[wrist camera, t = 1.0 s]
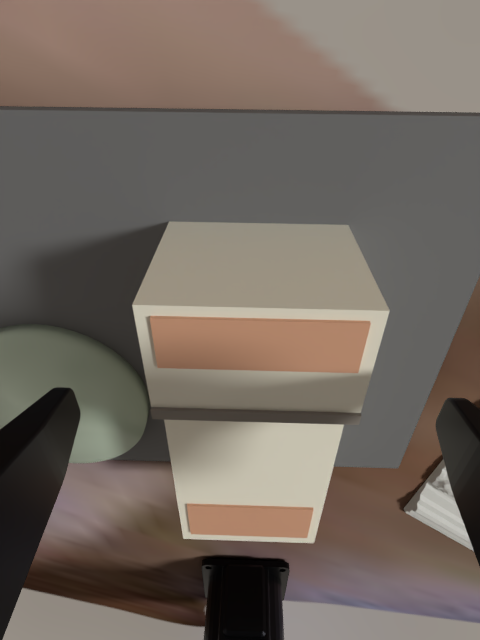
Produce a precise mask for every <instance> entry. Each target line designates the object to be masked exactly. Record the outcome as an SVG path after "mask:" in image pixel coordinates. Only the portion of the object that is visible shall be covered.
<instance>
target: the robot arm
mask: <svg viewBox="0 0 480 640" xmlns="http://www.w3.org/2000/svg"><path fill="white" fill-rule="evenodd" d="M80 416H81V413H80V408H79V405H78V402H77V399H76V396H75V393H74V391H73V390H72V389H71V388H66V387H56V388H53V389H51V390H50V391H49V392H47V393H46V394H45V395H43V396H42V397H41V398H40V399H38V400H37V401H36V402H35V403H33V404H32V405H31V406H29V407H28V408H27V409H26V410H24V411H23V412H22V413H20V414H19V415H18V416H17V417H15V418H14V419H13V420H12V421H10V422H9V423H8V424H6V425H5V426H4V427H3V428H1V429H0V640H2V639H3V636H4V634H5V631H6V628H7V626H8V623H9V621H10V618H11V616H12V613H13V610H14V608H15V605H16V602H17V600H18V597H19V595H20V592H21V589H22V587H23V584H24V582H25V579H26V577H27V574H28V572H29V569H30V566H31V564H32V561H33V559H34V556H35V553H36V551H37V548H38V546H39V543H40V540H41V538H42V535H43V533H44V530H45V527H46V525H47V522H48V520H49V517H50V515H51V512H52V509H53V507H54V504H55V502H56V499H57V496H58V494H59V491H60V489H61V486H62V483H63V480H64V477H65V474H66V471H67V467H68V463H69V459H70V456H71V452H72V448H73V444H74V440H75V437H76V433H77V429H78V425H79V422H80ZM436 431H437V435H438V439H439V443H440V447H441V451H442V455H443V459H444V463H445V467H446V471H447V475H448V479H449V482H450V486H451V490H452V493H453V495H454V498H455V501H456V504H457V507H458V509H459V512H460V515H461V517H462V520H463V523H464V525H465V528H466V531H467V534H468V536H469V539H470V542H471V544H472V547H473V550H474V552H475V555H476V558H477V560H478V563H479V566H480V409H479V408H478V407H477V406H475V405H474V404H473V403H471V402H470V401H469V400H467V399H465V398H448V399H447V400H446V401H445V402H444V404H443V407H442V409H441V411H440V413H439V415H438V417H437V420H436ZM202 575H203V584H204V592H205V597H206V598H207V607H206V619H205V631H204V640H284V629H283V609H282V601H283V600H284V596H285V591H286V586H287V580H288V575H289V563H287V562H281V561H253V560H224V559H205V560H203V561H202Z"/></svg>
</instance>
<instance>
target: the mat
mask: <svg viewBox="0 0 480 640" xmlns="http://www.w3.org/2000/svg"><path fill="white" fill-rule="evenodd" d="M169 222H222V223H275V224H328V225H349V228H350V230H351V232H352V234H353V236H354V238H355V240H356V242H357V244H358V246H359V248H360V250H361V252H362V254H363V257H364V259H365V261H366V263H367V265H368V267H369V269H370V271H371V273H372V275H373V277H374V279H375V281H376V283H377V285H378V288H379V290H380V292H381V294H382V296H383V298H384V300H385V302H386V304H387V306H388V308H389V310H390V312H389V315H388V319H387V322H386V326H385V329H384V333H383V336H382V340H381V343H380V347H379V350H378V354H377V357H376V361H375V364H374V368H373V371H372V375H371V378H370V382H369V385H368V389H367V392H366V396H365V399H364V403H363V406H362V410H361V419H360V423H359V425H344V427H343V431H342V435H341V439H340V443H339V447H338V450H337V454H336V458H335V462H334V466H338V467H371V468H398V467H399V465H400V463H401V460H402V458H403V456H404V453H405V451H406V449H407V446H408V444H409V441H410V439H411V437H412V434H413V432H414V430H415V427H416V425H417V423H418V420H419V418H420V415H421V413H422V411H423V408H424V406H425V404H426V401H427V399H428V396H429V394H430V392H431V389H432V387H433V385H434V382H435V380H436V378H437V375H438V373H439V370H440V368H441V366H442V363H443V361H444V359H445V356H446V354H447V352H448V349H449V347H450V344H451V342H452V340H453V337H454V335H455V333H456V330H457V328H458V325H459V323H460V321H461V318H462V316H463V314H464V311H465V309H466V307H467V304H468V302H469V299H470V297H471V295H472V292H473V290H474V288H475V285H476V283H477V281H478V278H479V276H480V113H457V112H455V113H454V112H453V113H452V112H385V111H310V110H236V109H162V108H88V107H14V106H0V328H4V327H7V326H13V325H20V324H38V325H49V326H55V327H60V328H64V329H68V330H72V331H75V332H78V333H80V334H83V335H86V336H88V337H90V338H92V339H94V340H97V341H99V342H101V343H102V344H104V345H106V346H107V347H109V348H111V349H112V350H113V351H115V352H116V353H117V354H119V355H120V356H122V357H123V358H124V359H125V360H126V361H127V362H128V363H129V364H130V365H131V366H132V367H133V368H134V369H135V371H136V372H137V373H138V374H139V376H140V378H141V379H142V381H143V382H144V385H145V387H146V389H147V392H148V387H147V382H146V377H145V371H144V366H143V361H142V355H141V350H140V345H139V339H138V334H137V329H136V323H135V318H134V313H133V307H132V304H133V302H134V300H135V297H136V295H137V293H138V291H139V288H140V286H141V284H142V281H143V279H144V277H145V275H146V272H147V270H148V268H149V266H150V263H151V261H152V259H153V257H154V254H155V252H156V250H157V248H158V245H159V243H160V241H161V239H162V236H163V234H164V232H165V230H166V227H167V225H168V223H169ZM148 395H149V393H148ZM149 401H150V398H149ZM150 409H151V404H150ZM108 460H140V461H171V459H170V453H169V447H168V441H167V435H166V428H165V422H164V420H163V419H152V416H151V411H150V410H149V416H148V419H147V423H146V427H145V430H144V433H143V435H142V437H141V438H140V440H139V441H138V442H137V444H136V445H135V446H134V447H132V448H131V449H130V450H129V451H127V452H125V453H124V454H122V455H120V456H117V457H115V458H112V459H108Z"/></svg>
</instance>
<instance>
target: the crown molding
mask: <svg viewBox="0 0 480 640" xmlns="http://www.w3.org/2000/svg"><path fill="white" fill-rule="evenodd" d="M404 511H405V513H407V514H409V515H411V516H412V517H414V518H416V519H418V520H419V521H421V522H423V523H425V524H427V525H428V526H430V527H432V528H434V529H435V530H437V531H439V532H441V533H442V534H444V535H446V536H448V537H450V538H451V539H453V540H455V541H457V542H458V543H460V544H462V545H464V546H465V547H467V548H469V549H471V550H473V547H472V544H471V542H470V539H469V536H468V534H467V531H466V528H465V525H464V523H463V520H462V517H461V515H460V512H459V509H458V507H457V504H456V501H455V498H454V495H453V493H452V490H451V486H450V482H449V479H448V475H447V471H446V467H445V463H444V459H443V460H442V461H441V462H440V464H439V465H438V466H437V467H436V469H435V470H434V471H433V472H432V474H431V475H430V476H429V477H428V479H427V480H426V481H425V482H424V484H423V485H422V486H421V487H420V489H419V490H418V491H417V492H416V494H415V495H414V496H413V497H412V499H411V500H410V501H409V502H408V504H407V505H406V506H405V507H404ZM473 551H474V550H473Z"/></svg>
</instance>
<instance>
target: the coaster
mask: <svg viewBox="0 0 480 640" xmlns="http://www.w3.org/2000/svg"><path fill="white" fill-rule="evenodd" d="M56 387H66V388H71V389H72V390H73V391H74V393H75V396H76V399H77V402H78V405H79V408H80V413H81V416H80V422H79V425H78V429H77V433H76V437H75V440H74V444H73V448H72V452H71V456H70V459H69V463H92V462H99V461H105V460H108V459H112V458H115V457H117V456H120V455H122V454H124V453H125V452H127V451H129V450H130V449H131V448H132V447H134V446H135V445H136V444H137V442H138V441H139V440H140V438H141V437H142V435H143V433H144V430H145V427H146V423H147V419H148V416H149V410H150V401H149V395H148V392H147V389H146V387H145V385H144V382H143V381H142V379H141V378H140V376H139V374H138V373H137V372H136V371H135V369H134V368H133V367H132V366H131V365H130V364H129V363H128V362H127V361H126V360H125V359H124V358H123V357H122V356H120V355H119V354H117V353H116V352H115V351H113V350H112V349H111V348H109V347H107V346H106V345H104V344H102V343H101V342H99V341H97V340H94V339H92V338H90V337H88V336H86V335H83V334H80V333H78V332H75V331H72V330H68V329H64V328H60V327H55V326H49V325H38V324H20V325H13V326H7V327H4V328H0V429H1V428H3V427H4V426H5V425H6V424H8V423H9V422H10V421H12V420H13V419H14V418H15V417H17V416H18V415H19V414H20V413H22V412H23V411H24V410H26V409H27V408H28V407H29V406H31V405H32V404H33V403H35V402H36V401H37V400H38V399H40V398H41V397H42V396H43V395H45V394H46V393H47V392H49V391H50V390H51V389H53V388H56Z"/></svg>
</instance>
